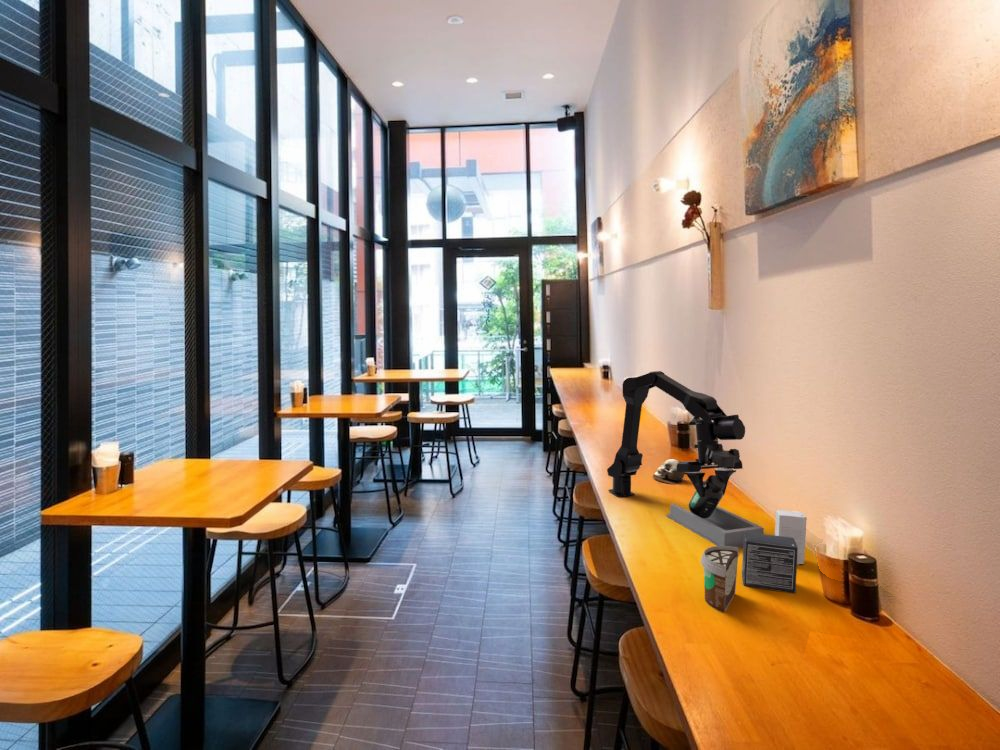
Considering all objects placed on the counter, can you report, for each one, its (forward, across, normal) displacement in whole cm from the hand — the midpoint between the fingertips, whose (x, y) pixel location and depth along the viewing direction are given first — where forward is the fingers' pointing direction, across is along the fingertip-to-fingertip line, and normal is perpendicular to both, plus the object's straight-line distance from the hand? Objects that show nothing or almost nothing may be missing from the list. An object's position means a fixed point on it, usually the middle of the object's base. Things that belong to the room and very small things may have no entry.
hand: (712, 496), depth 159 cm
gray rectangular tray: (+9, 0, 0) cm, 9 cm away
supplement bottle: (+4, 0, +6) cm, 8 cm away
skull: (-1, +19, +44) cm, 48 cm away
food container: (+17, -27, -30) cm, 44 cm away
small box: (+16, -11, -29) cm, 35 cm away
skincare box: (+14, +3, -21) cm, 26 cm away
